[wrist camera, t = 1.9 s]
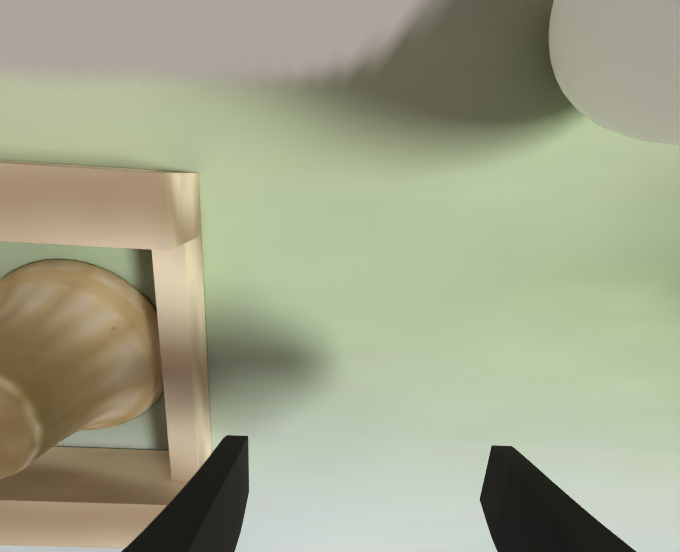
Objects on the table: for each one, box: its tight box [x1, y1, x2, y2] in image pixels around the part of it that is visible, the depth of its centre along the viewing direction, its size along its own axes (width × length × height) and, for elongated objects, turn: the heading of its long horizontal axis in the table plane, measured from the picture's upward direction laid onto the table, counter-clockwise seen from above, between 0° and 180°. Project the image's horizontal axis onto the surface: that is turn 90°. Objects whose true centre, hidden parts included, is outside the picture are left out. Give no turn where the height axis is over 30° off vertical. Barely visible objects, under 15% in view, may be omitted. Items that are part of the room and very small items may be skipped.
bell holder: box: [0, 160, 212, 548], centre depth 15 cm, size 16×11×3 cm
